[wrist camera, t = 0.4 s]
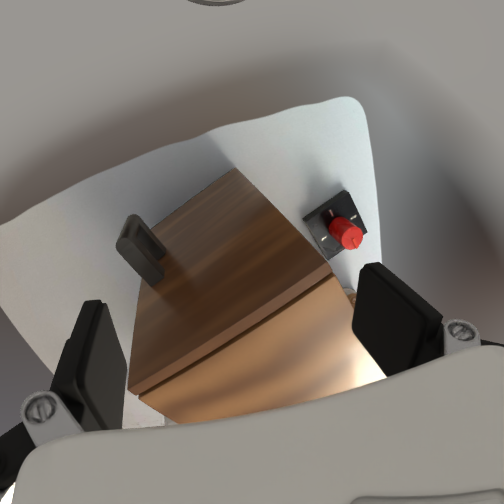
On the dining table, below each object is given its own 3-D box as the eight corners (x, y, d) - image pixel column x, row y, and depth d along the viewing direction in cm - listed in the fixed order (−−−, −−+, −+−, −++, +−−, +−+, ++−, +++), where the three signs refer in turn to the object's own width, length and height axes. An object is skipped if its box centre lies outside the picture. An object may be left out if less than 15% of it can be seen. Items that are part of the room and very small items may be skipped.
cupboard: (155, 233, 54) (138, 399, 22) (239, 172, 53) (335, 275, 21) (214, 300, 62) (255, 464, 31) (290, 249, 61) (393, 385, 29)
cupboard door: (127, 200, 50) (63, 339, 19) (214, 136, 49) (279, 180, 18) (154, 233, 54) (135, 396, 22) (238, 171, 53) (333, 271, 21)
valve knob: (324, 225, 58) (338, 236, 53) (343, 212, 58) (358, 222, 53) (334, 242, 60) (348, 255, 55) (351, 229, 60) (367, 241, 55)
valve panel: (302, 218, 59) (306, 222, 57) (344, 189, 58) (349, 192, 56) (324, 256, 64) (328, 260, 62) (362, 228, 63) (367, 232, 61)
